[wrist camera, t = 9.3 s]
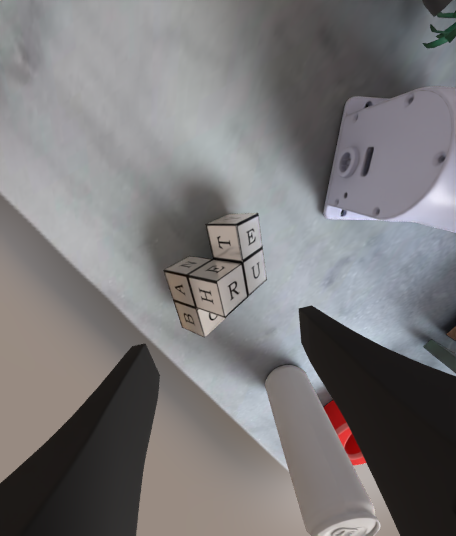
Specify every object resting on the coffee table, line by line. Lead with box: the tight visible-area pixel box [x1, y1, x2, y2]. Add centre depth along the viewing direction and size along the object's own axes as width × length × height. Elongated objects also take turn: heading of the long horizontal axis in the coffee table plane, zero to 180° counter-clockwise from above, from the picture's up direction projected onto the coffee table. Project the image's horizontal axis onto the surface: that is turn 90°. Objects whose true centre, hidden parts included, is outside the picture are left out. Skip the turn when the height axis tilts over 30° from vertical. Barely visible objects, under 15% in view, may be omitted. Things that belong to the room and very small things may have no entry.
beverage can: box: [265, 365, 380, 536], centre depth 20 cm, size 5×5×12 cm
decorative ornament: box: [323, 400, 366, 465], centre depth 28 cm, size 10×10×3 cm
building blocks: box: [163, 213, 267, 337], centre depth 17 cm, size 5×5×8 cm
